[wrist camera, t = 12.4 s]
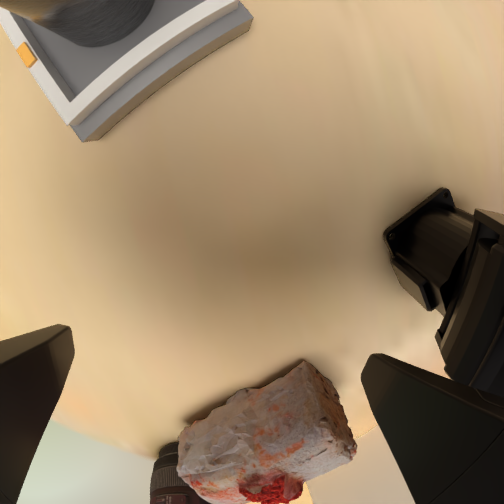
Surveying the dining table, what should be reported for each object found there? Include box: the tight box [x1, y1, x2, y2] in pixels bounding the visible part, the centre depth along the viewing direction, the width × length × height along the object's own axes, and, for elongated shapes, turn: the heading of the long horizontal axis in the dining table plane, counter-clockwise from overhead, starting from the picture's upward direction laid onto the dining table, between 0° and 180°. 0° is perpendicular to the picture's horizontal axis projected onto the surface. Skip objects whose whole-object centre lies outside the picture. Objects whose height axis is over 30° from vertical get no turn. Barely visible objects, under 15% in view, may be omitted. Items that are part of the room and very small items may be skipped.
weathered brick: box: [176, 361, 357, 504], centre depth 22 cm, size 14×8×10 cm, turn 127°
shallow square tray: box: [0, 0, 254, 142], centre depth 12 cm, size 11×12×4 cm
